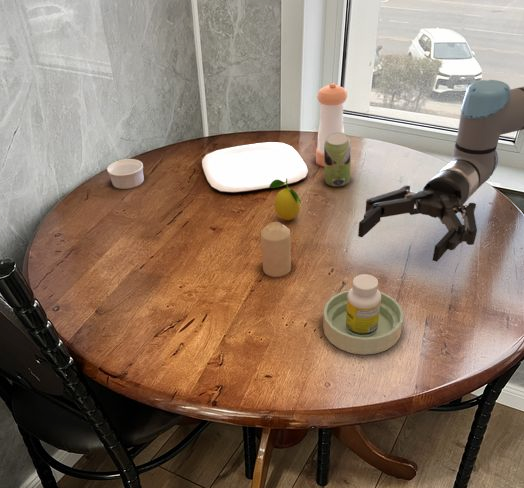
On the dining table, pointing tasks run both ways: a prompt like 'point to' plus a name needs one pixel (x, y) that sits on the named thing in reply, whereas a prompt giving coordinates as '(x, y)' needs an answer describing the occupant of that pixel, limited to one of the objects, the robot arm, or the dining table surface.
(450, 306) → the dining table surface
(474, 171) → the robot arm
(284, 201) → the lemon
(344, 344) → the bowl
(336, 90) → the pepper shaker
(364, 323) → the supplement bottle
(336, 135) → the beverage can
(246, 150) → the plate
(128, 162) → the ramekin
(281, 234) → the candle
